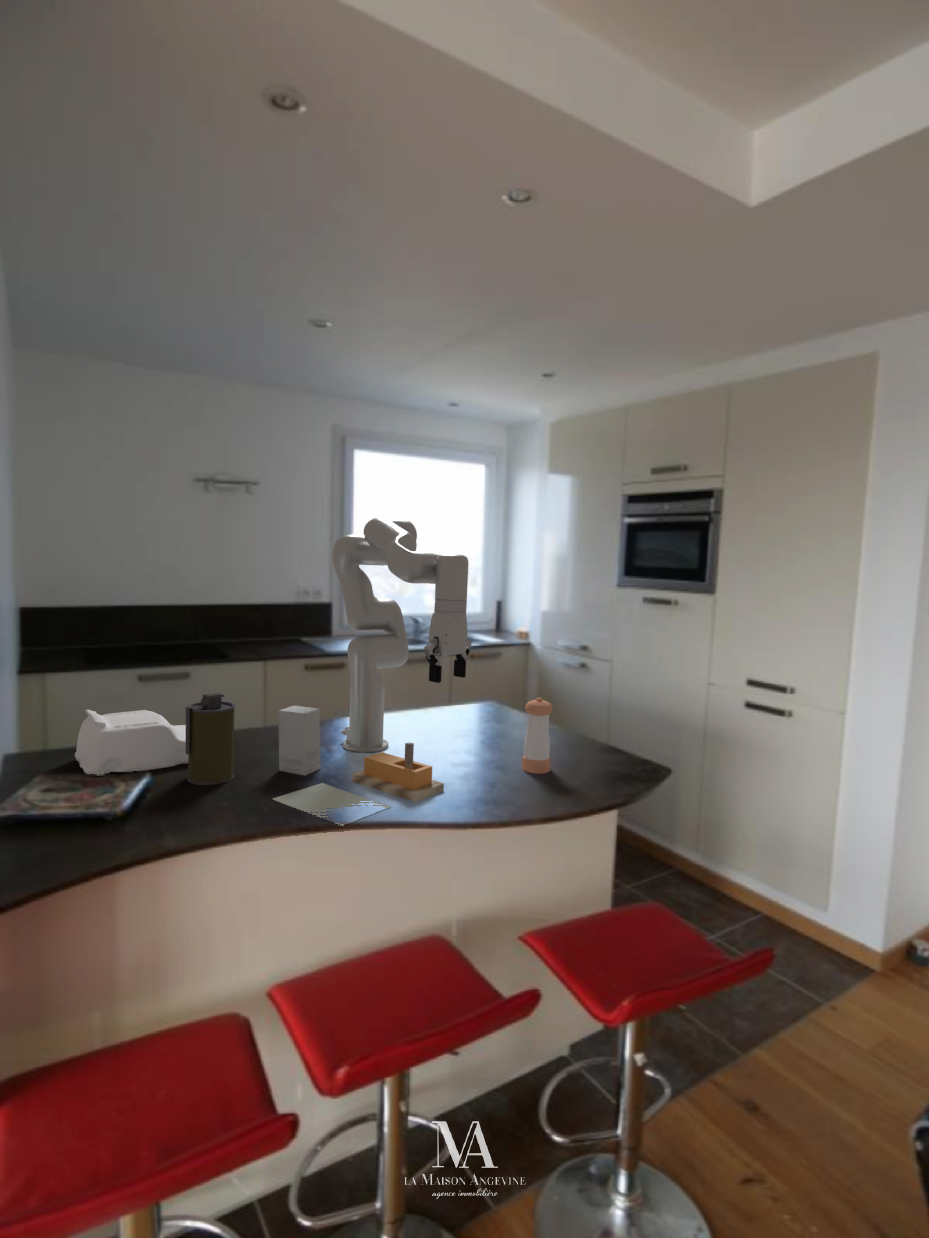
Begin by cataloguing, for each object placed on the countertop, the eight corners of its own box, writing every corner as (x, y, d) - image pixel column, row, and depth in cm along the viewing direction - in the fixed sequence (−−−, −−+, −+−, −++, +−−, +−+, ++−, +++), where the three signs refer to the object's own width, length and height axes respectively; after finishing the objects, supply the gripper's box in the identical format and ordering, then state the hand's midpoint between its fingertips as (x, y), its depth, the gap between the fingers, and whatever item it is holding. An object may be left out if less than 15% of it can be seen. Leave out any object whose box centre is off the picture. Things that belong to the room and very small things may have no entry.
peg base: (351, 782, 159) (352, 736, 158) (381, 772, 167) (382, 729, 166) (415, 803, 147) (416, 754, 146) (443, 791, 155) (445, 745, 154)
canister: (222, 768, 165) (223, 688, 163) (242, 779, 157) (243, 695, 155) (178, 777, 157) (178, 693, 155) (196, 789, 150) (197, 701, 148)
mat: (272, 800, 145) (272, 798, 145) (322, 784, 156) (322, 782, 156) (342, 828, 132) (342, 826, 132) (390, 808, 143) (391, 806, 143)
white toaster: (71, 760, 167) (71, 707, 166) (196, 744, 185) (196, 696, 184) (84, 782, 152) (83, 724, 150) (218, 762, 170) (218, 710, 169)
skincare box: (320, 769, 167) (322, 708, 165) (304, 777, 161) (305, 713, 159) (294, 764, 170) (295, 704, 169) (276, 771, 164) (277, 709, 163)
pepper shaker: (515, 769, 173) (519, 697, 171) (532, 764, 178) (536, 693, 177) (538, 776, 168) (542, 702, 167) (555, 770, 174) (559, 698, 172)
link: (431, 783, 154) (432, 766, 154) (414, 789, 149) (415, 772, 149) (381, 768, 164) (382, 752, 163) (363, 773, 159) (364, 757, 158)
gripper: (458, 604, 165) (455, 672, 167) (414, 607, 151) (411, 681, 153) (484, 607, 161) (480, 677, 163) (441, 609, 147) (437, 686, 149)
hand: (447, 679), depth 158 cm, fingers open, 9 cm apart
